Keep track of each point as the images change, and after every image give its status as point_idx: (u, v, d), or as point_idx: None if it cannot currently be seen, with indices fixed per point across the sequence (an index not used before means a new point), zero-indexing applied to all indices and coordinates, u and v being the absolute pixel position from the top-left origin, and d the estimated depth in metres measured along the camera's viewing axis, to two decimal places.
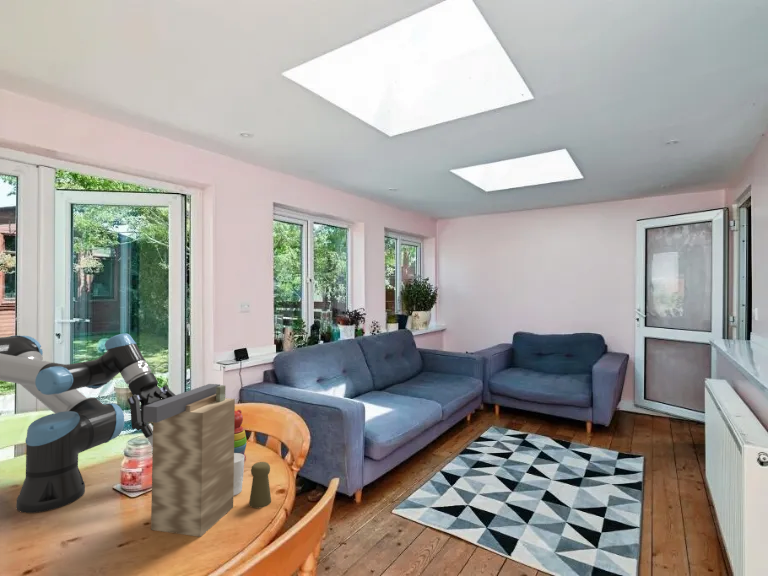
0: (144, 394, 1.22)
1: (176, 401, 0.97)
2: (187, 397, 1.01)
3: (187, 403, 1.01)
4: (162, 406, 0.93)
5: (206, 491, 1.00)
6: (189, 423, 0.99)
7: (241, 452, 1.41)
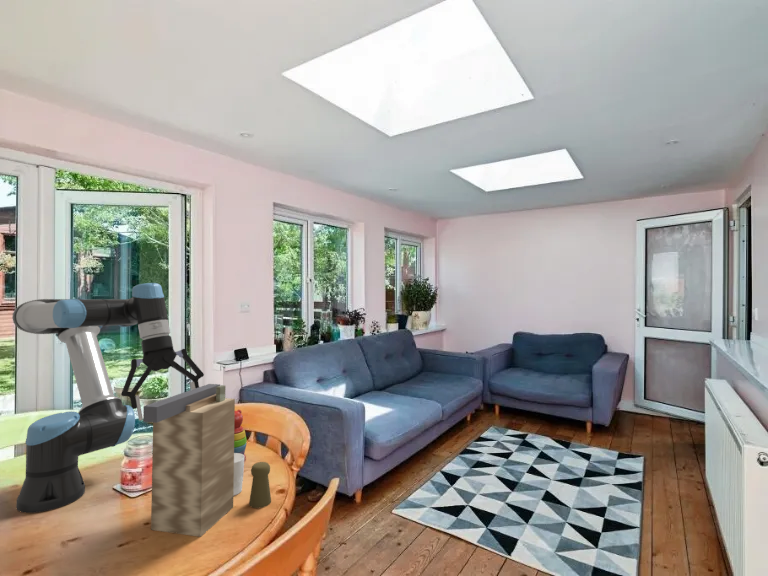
0: (148, 359, 1.11)
1: (176, 401, 0.97)
2: (187, 397, 1.01)
3: (187, 403, 1.01)
4: (162, 406, 0.93)
5: (206, 491, 1.00)
6: (189, 423, 0.99)
7: (241, 452, 1.41)
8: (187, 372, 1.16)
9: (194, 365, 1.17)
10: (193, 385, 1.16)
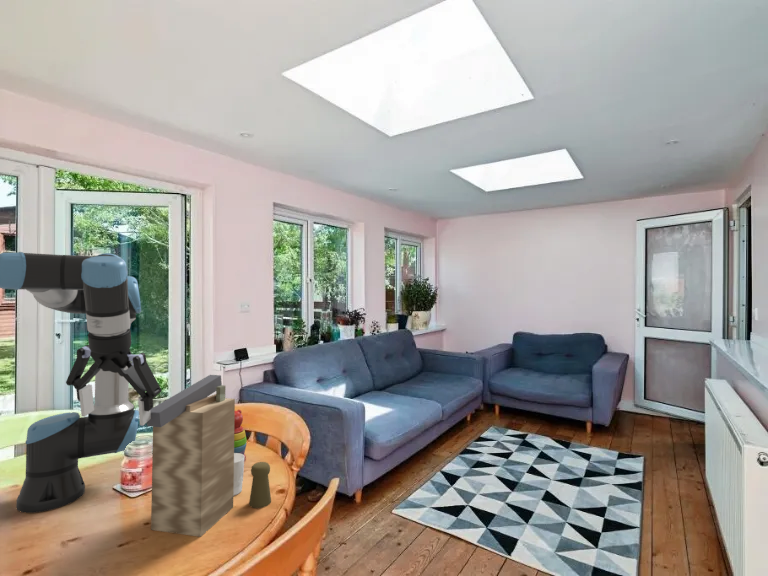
0: (95, 355, 0.86)
1: (178, 402, 0.97)
2: (189, 395, 1.01)
3: (189, 401, 1.01)
4: (164, 410, 0.93)
5: (206, 491, 1.00)
6: (189, 423, 0.99)
7: (241, 452, 1.41)
8: (136, 386, 0.87)
9: (145, 381, 0.86)
10: (140, 403, 0.88)
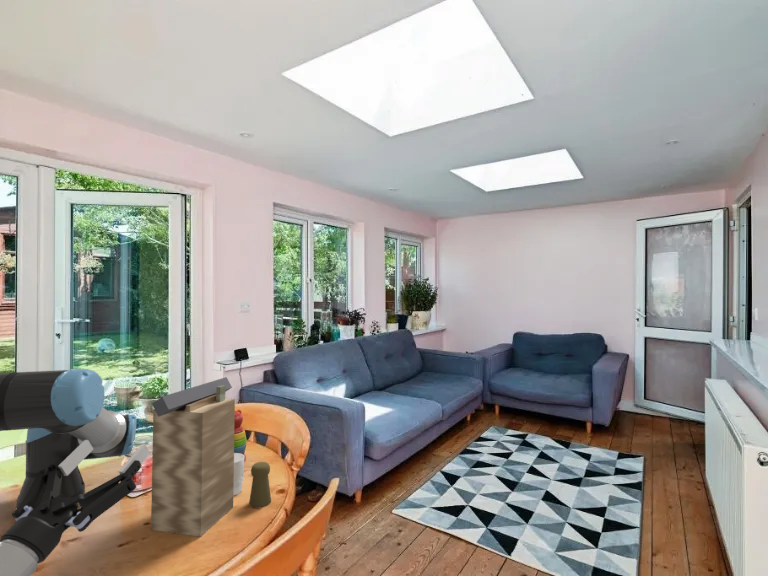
0: None
1: (182, 391, 1.01)
2: (193, 388, 1.05)
3: (196, 393, 1.05)
4: (168, 396, 0.97)
5: (206, 491, 1.00)
6: (189, 423, 0.99)
7: (241, 452, 1.41)
8: None
9: None
10: None
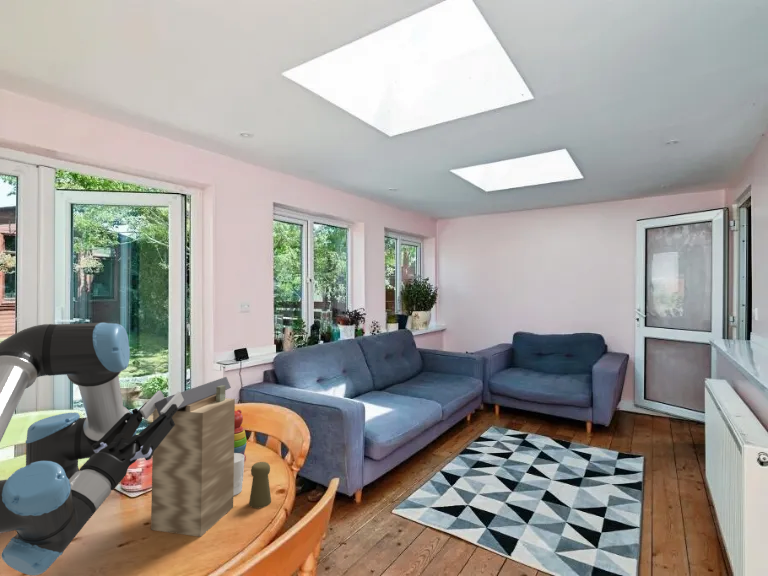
0: None
1: (184, 392, 1.01)
2: (195, 388, 1.05)
3: (197, 393, 1.05)
4: (171, 396, 0.97)
5: (206, 491, 1.00)
6: (189, 423, 0.99)
7: (241, 452, 1.41)
8: None
9: None
10: None
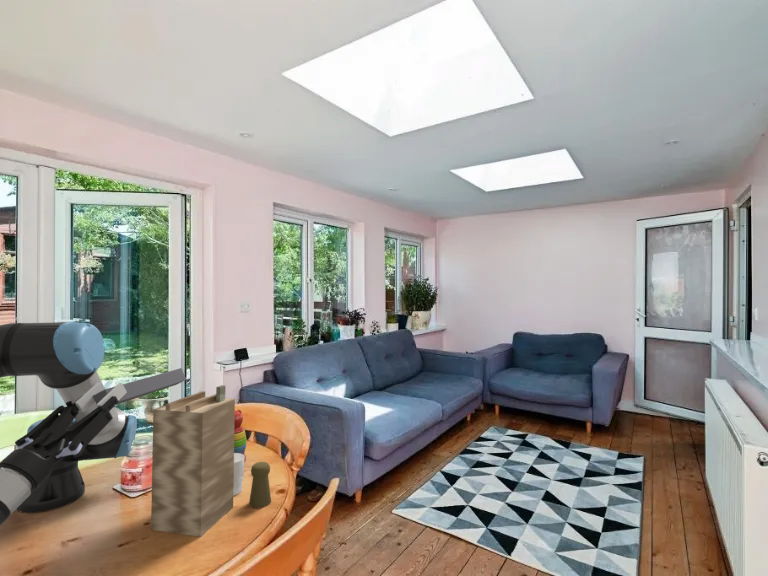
0: None
1: (129, 383, 0.93)
2: (142, 380, 0.97)
3: (145, 385, 0.97)
4: (112, 388, 0.89)
5: (206, 491, 1.00)
6: (189, 423, 0.99)
7: (241, 452, 1.41)
8: None
9: None
10: None
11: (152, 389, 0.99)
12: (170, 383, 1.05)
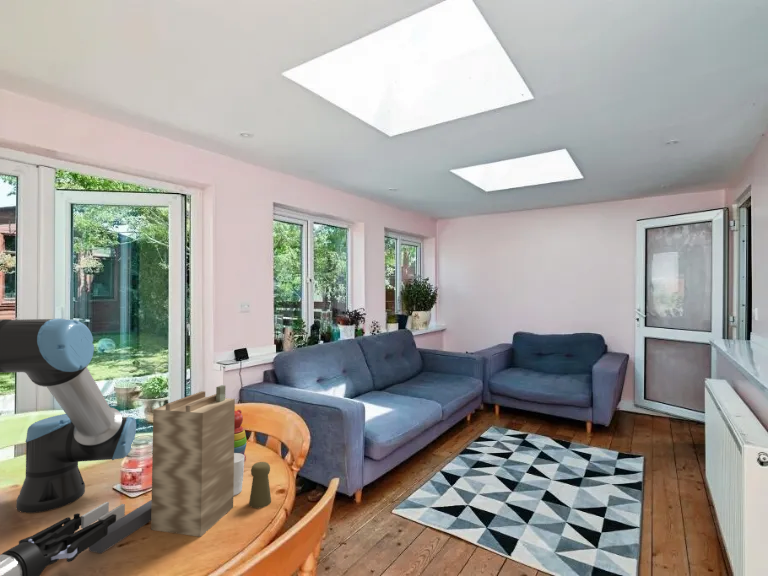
0: None
1: (125, 525, 0.98)
2: (139, 517, 1.02)
3: (139, 523, 1.02)
4: (108, 536, 0.93)
5: (206, 491, 1.00)
6: (189, 423, 0.99)
7: (241, 452, 1.41)
8: None
9: None
10: None
11: None
12: None
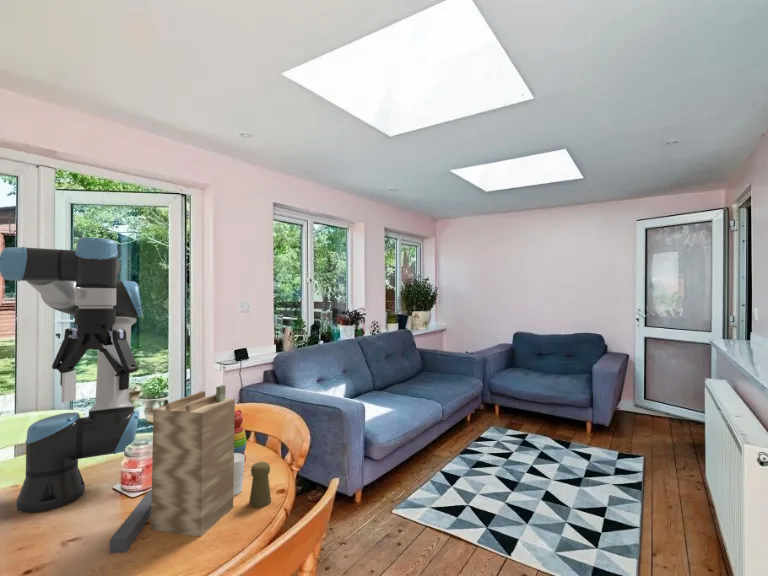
0: (80, 333, 0.89)
1: (137, 524, 0.98)
2: (144, 515, 1.02)
3: (144, 521, 1.02)
4: (129, 535, 0.94)
5: (206, 491, 1.00)
6: (189, 423, 0.99)
7: (241, 452, 1.41)
8: (112, 362, 0.87)
9: (121, 355, 0.87)
10: (115, 381, 0.87)
11: None
12: None
